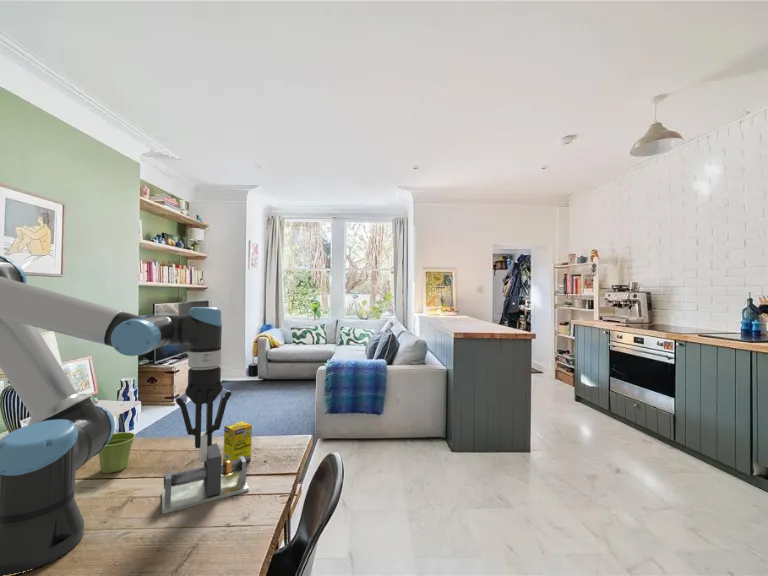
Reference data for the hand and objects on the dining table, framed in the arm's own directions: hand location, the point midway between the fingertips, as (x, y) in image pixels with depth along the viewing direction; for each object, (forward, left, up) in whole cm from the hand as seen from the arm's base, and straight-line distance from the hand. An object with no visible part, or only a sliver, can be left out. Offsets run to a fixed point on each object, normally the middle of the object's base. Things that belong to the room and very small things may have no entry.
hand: (203, 459), depth 90 cm
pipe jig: (+1, 0, -9) cm, 9 cm away
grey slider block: (+2, 0, -8) cm, 8 cm away
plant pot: (-20, +27, -9) cm, 35 cm away
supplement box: (+11, +14, -9) cm, 20 cm away
